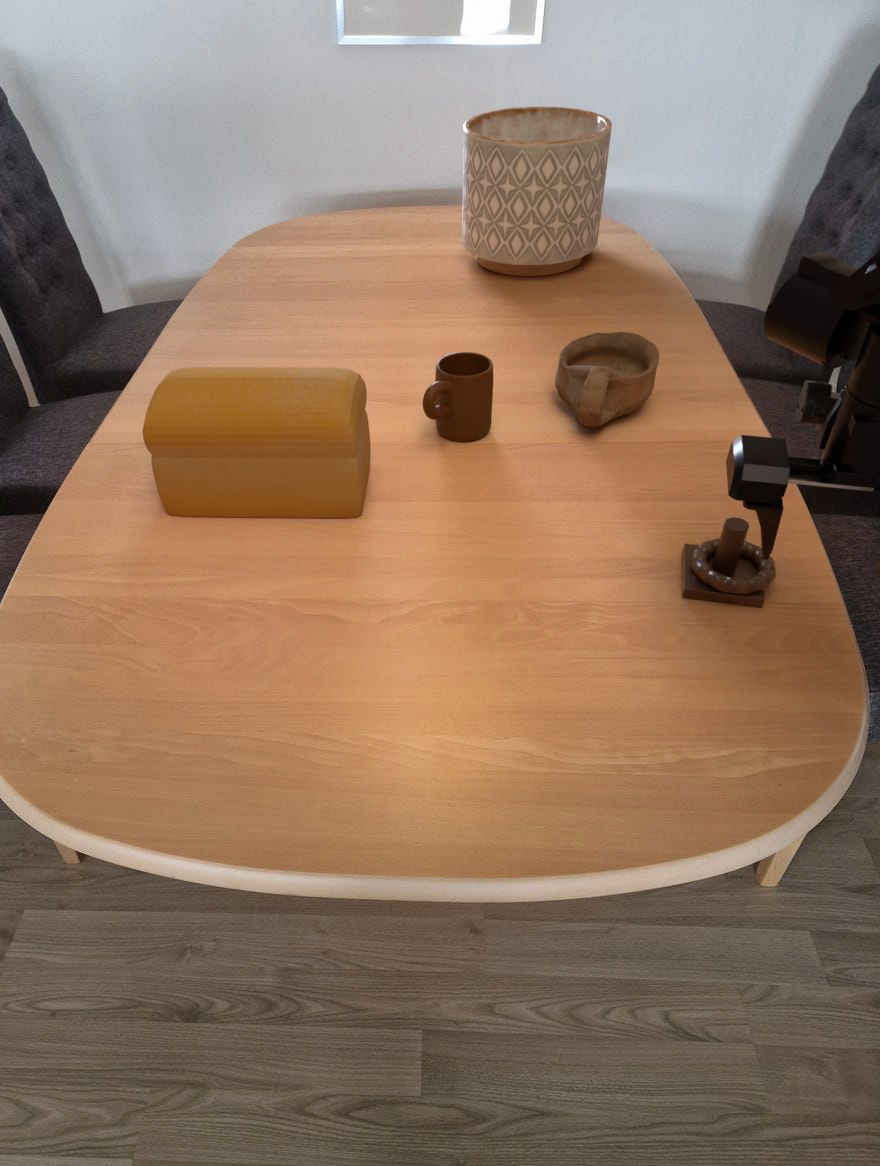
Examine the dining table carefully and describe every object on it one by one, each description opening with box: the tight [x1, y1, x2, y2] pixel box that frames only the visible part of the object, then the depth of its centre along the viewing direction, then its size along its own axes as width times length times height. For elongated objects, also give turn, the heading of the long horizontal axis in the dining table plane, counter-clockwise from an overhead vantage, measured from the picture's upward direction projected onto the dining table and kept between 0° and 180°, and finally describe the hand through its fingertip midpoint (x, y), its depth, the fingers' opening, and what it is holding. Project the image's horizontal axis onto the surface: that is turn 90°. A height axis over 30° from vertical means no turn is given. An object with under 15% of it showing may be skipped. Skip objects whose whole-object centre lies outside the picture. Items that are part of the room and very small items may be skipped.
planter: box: [461, 106, 613, 277], centre depth 152 cm, size 26×26×22 cm
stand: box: [681, 516, 766, 609], centre depth 87 cm, size 8×8×7 cm
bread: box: [142, 366, 371, 519], centre depth 100 cm, size 24×13×15 cm, turn 86°
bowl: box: [554, 331, 660, 428], centre depth 113 cm, size 18×14×10 cm
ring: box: [692, 537, 777, 594], centre depth 88 cm, size 8×8×2 cm
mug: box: [422, 351, 494, 443], centre depth 110 cm, size 12×8×9 cm, turn 140°
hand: (821, 563), depth 71 cm, fingers open, 9 cm apart
